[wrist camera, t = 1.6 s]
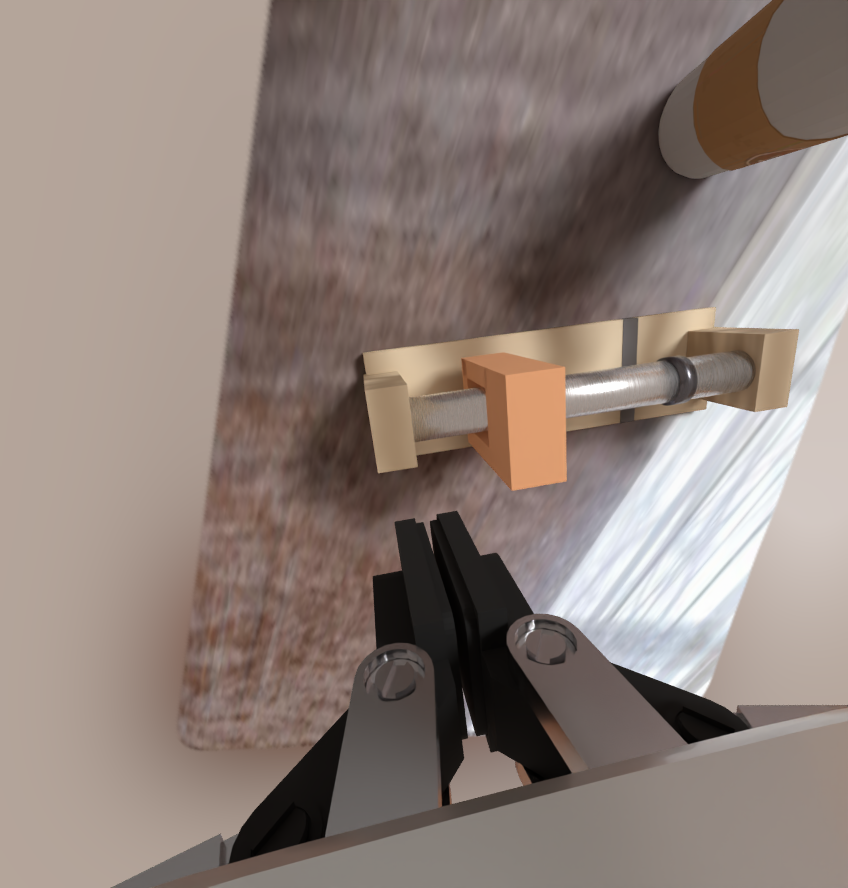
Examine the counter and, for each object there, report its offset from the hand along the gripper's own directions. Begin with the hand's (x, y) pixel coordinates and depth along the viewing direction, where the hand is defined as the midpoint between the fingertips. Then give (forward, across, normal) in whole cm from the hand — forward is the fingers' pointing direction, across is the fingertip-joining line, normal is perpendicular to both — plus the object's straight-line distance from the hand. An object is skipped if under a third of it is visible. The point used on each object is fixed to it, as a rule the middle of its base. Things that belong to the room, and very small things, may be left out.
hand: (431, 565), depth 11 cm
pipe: (+17, -13, 0) cm, 21 cm away
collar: (+18, -7, 0) cm, 20 cm away
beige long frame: (+21, -13, 0) cm, 24 cm away
